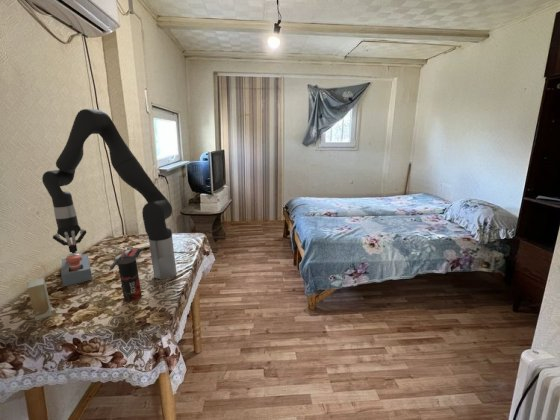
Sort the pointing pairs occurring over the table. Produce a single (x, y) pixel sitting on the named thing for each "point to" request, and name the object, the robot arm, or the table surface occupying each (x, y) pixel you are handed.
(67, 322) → the table surface
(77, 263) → the red plunger
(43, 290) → the skincare box
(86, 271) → the press block
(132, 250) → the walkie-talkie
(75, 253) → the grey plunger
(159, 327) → the table surface
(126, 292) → the deodorant
